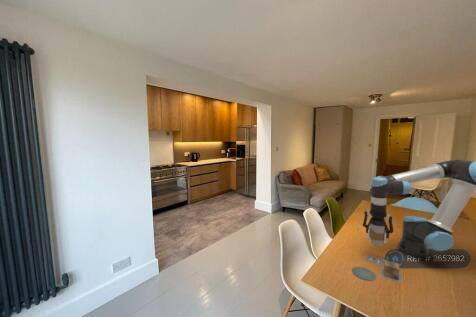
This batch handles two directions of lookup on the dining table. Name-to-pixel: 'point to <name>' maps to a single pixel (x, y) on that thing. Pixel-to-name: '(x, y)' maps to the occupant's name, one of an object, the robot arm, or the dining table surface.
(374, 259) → the tile
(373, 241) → the coffee cup
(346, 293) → the dining table surface
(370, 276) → the coaster
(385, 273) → the brown cube
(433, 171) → the robot arm
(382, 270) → the code tile
